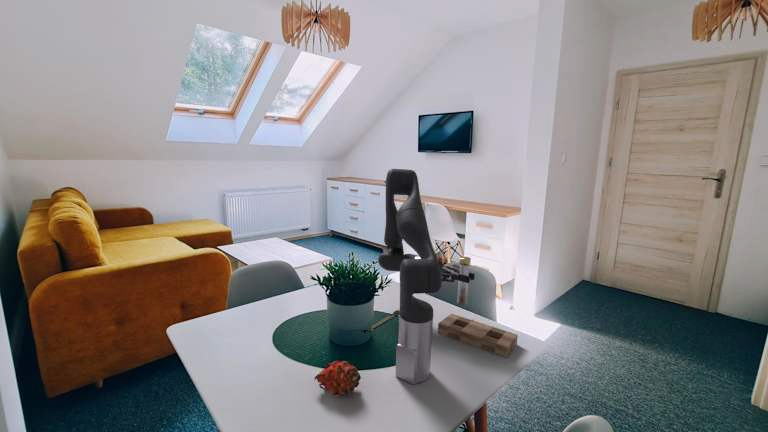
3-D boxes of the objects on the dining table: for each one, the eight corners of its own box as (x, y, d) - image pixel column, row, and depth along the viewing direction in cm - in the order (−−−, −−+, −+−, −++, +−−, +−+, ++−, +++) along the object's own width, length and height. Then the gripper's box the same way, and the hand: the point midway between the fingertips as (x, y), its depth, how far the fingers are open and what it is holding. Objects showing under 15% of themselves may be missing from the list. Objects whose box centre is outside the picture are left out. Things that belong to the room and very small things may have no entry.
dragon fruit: (363, 399, 90) (318, 402, 91) (364, 366, 96) (321, 369, 97) (357, 388, 84) (308, 391, 85) (358, 353, 90) (313, 356, 91)
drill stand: (506, 357, 108) (507, 347, 107) (437, 332, 122) (438, 323, 122) (516, 344, 116) (517, 334, 115) (450, 322, 130) (451, 313, 129)
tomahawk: (374, 340, 118) (374, 337, 118) (360, 332, 122) (360, 329, 122) (410, 318, 134) (410, 315, 134) (396, 311, 138) (396, 309, 138)
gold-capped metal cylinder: (464, 306, 118) (467, 260, 115) (454, 303, 120) (457, 258, 118) (468, 302, 121) (472, 258, 118) (459, 299, 123) (462, 255, 120)
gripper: (417, 261, 121) (463, 272, 111) (437, 253, 132) (481, 263, 122) (416, 282, 123) (462, 295, 112) (436, 272, 134) (479, 283, 123)
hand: (471, 278), depth 117 cm, fingers closed on gold-capped metal cylinder, 3 cm apart
